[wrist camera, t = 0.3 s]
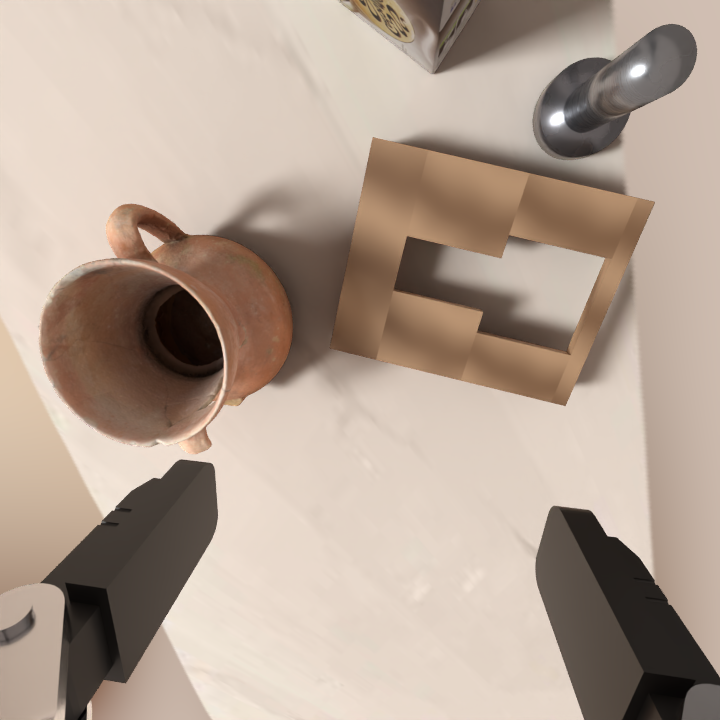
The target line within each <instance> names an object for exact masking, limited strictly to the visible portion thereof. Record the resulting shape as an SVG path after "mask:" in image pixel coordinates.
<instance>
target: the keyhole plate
mask: <svg viewBox="0 0 720 720" xmlns="http://www.w3.org/2000/svg"><path fill="white" fill-rule="evenodd" d="M654 203H655V202H653V201H649V200H644V199H640V198H635V197H631V196H627V195H622V194H618V193H614V192H609V191H605V190H601V189H596V188H592V187H588V186H583V185H579V184H574V183H570V182H566V181H561V180H557V179H553V178H548V177H544V176H540V175H535V174H531V173H527V172H522V171H518V170H513V169H509V168H505V167H500V166H496V165H492V164H487V163H483V162H479V161H474V160H470V159H466V158H461V157H457V156H452V155H448V154H444V153H439V152H435V151H431V150H426V149H422V148H418V147H413V146H409V145H405V144H400V143H396V142H391V141H387V140H383V139H378V138H374V137H373V139H372V143H371V148H370V153H369V158H368V163H367V168H366V173H365V178H364V183H363V187H362V192H361V197H360V202H359V207H358V212H357V217H356V222H355V226H354V231H353V236H352V241H351V246H350V251H349V256H348V261H347V266H346V270H345V275H344V280H343V285H342V290H341V295H340V300H339V305H338V310H337V314H336V319H335V324H334V329H333V334H332V339H331V344H330V349H334V350H338V351H342V352H347V353H351V354H355V355H359V356H363V357H367V358H371V359H375V360H379V361H383V362H387V363H392V364H396V365H400V366H404V367H408V368H412V369H416V370H420V371H424V372H428V373H432V374H437V375H441V376H445V377H449V378H453V379H457V380H461V381H465V382H469V383H473V384H478V385H482V386H486V387H490V388H494V389H498V390H502V391H506V392H510V393H514V394H518V395H523V396H527V397H531V398H535V399H539V400H543V401H547V402H551V403H555V404H559V405H563V406H566V404H567V401H568V399H569V397H570V394H571V392H572V390H573V388H574V385H575V383H576V381H577V379H578V376H579V374H580V372H581V369H582V367H583V365H584V363H585V360H586V358H587V356H588V353H589V351H590V349H591V347H592V344H593V342H594V340H595V338H596V335H597V333H598V331H599V328H600V326H601V324H602V322H603V319H604V317H605V315H606V313H607V310H608V308H609V306H610V303H611V301H612V299H613V297H614V294H615V292H616V290H617V288H618V285H619V283H620V281H621V278H622V276H623V274H624V272H625V269H626V267H627V265H628V263H629V260H630V258H631V256H632V253H633V251H634V249H635V247H636V244H637V242H638V240H639V237H640V235H641V233H642V231H643V228H644V226H645V224H646V222H647V219H648V217H649V215H650V213H651V210H652V208H653V206H654ZM509 235H510V236H515V237H519V238H523V239H527V240H532V241H536V242H540V243H545V244H549V245H553V246H557V247H562V248H566V249H570V250H574V251H579V252H583V253H587V254H592V255H596V256H600V257H604V258H605V260H604V263H603V265H602V268H601V270H600V272H599V275H598V277H597V280H596V282H595V284H594V287H593V289H592V291H591V294H590V296H589V299H588V301H587V303H586V306H585V308H584V311H583V313H582V315H581V318H580V320H579V322H578V325H577V327H576V330H575V332H574V334H573V337H572V339H571V342H570V344H569V346H568V349H567V351H562V350H557V349H553V348H549V347H545V346H541V345H537V344H532V343H528V342H524V341H520V340H516V339H512V338H508V337H503V336H499V335H495V334H491V333H487V332H483V331H478V327H479V324H480V321H481V318H482V315H483V311H482V310H481V309H477V308H472V307H468V306H464V305H460V304H456V303H451V302H447V301H443V300H439V299H435V298H431V297H426V296H422V295H418V294H414V293H410V292H406V291H401V290H397V289H394V286H395V282H396V278H397V274H398V270H399V266H400V262H401V258H402V254H403V250H404V246H405V242H406V238H407V236H409V237H413V238H417V239H422V240H426V241H430V242H434V243H439V244H443V245H447V246H451V247H456V248H460V249H464V250H468V251H473V252H477V253H481V254H485V255H490V256H494V257H498V258H502V255H503V252H504V249H505V246H506V243H507V240H508V237H509Z"/></svg>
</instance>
